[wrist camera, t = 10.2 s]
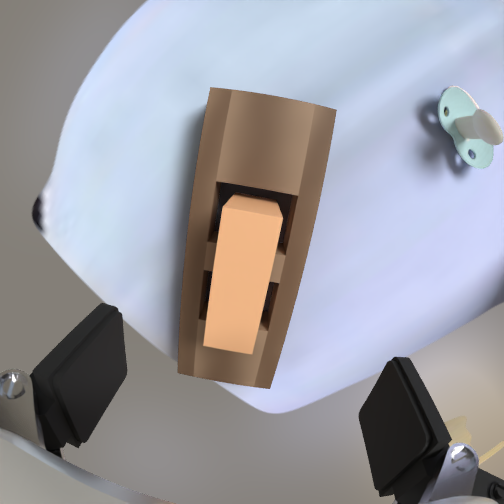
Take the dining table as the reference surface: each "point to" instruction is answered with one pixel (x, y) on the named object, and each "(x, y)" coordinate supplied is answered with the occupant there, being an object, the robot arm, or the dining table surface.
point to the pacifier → (469, 127)
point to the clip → (241, 271)
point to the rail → (264, 177)
